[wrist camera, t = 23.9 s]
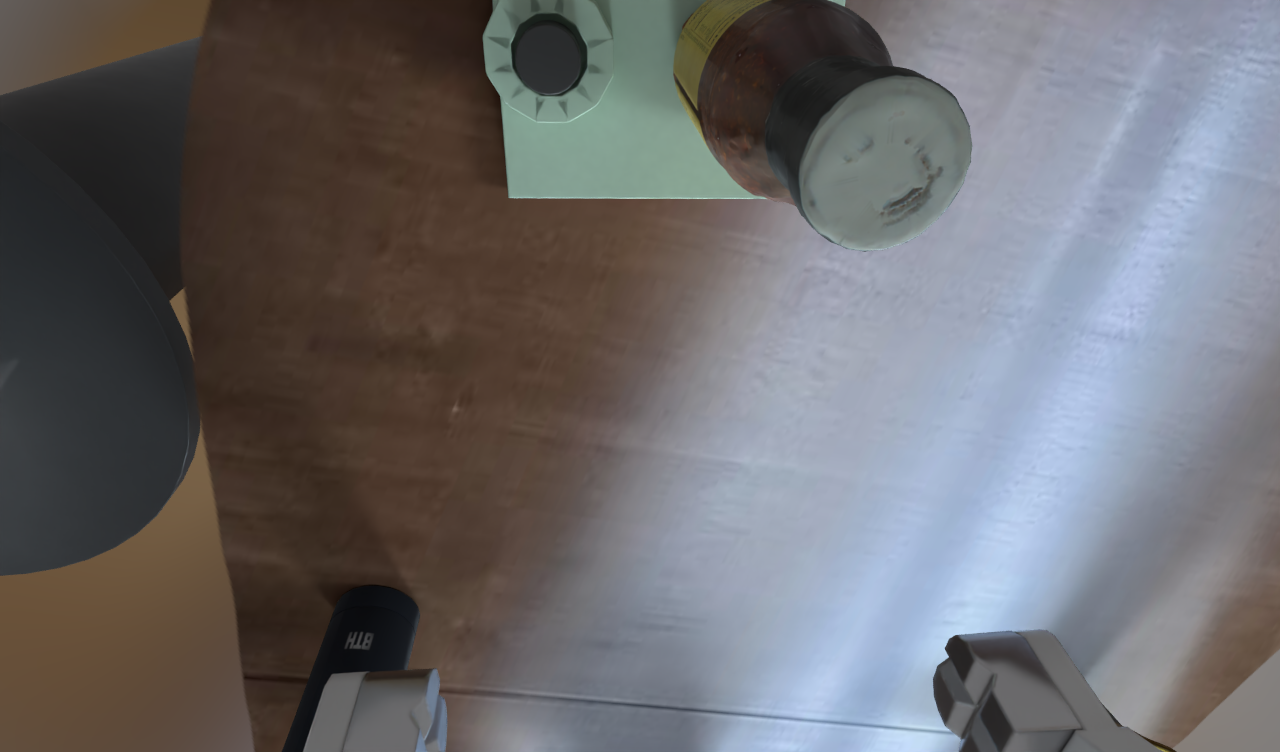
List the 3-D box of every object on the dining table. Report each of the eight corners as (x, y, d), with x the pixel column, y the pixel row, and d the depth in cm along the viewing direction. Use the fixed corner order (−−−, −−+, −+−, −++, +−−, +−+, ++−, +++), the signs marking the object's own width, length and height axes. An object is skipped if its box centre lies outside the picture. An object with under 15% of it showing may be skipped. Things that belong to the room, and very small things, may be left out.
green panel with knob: (504, 189, 36) (498, 209, 34) (476, -139, 29) (465, -145, 26) (805, 190, 38) (821, 209, 35) (856, -126, 30) (881, -130, 27)
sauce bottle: (799, 118, 34) (999, 301, 17) (674, 135, 34) (756, 333, 18) (801, -35, 30) (1056, 15, 14) (661, -16, 30) (749, 56, 14)
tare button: (520, 87, 31) (517, 94, 30) (515, 19, 30) (512, 23, 28) (581, 88, 32) (581, 95, 30) (580, 20, 30) (580, 24, 29)
